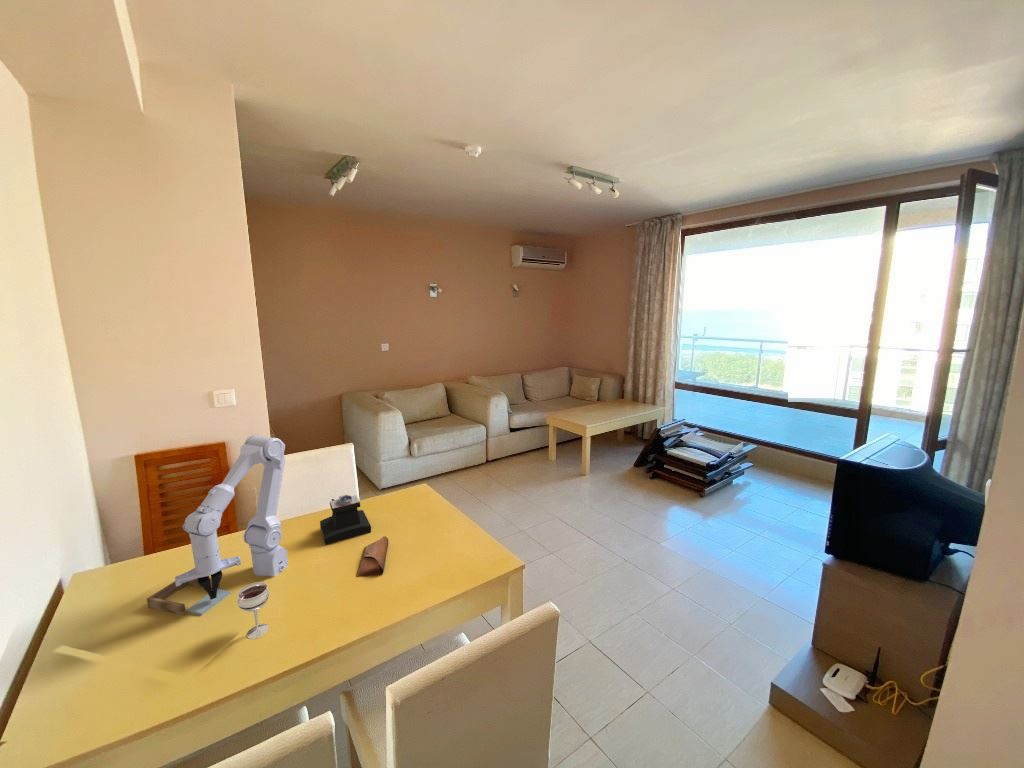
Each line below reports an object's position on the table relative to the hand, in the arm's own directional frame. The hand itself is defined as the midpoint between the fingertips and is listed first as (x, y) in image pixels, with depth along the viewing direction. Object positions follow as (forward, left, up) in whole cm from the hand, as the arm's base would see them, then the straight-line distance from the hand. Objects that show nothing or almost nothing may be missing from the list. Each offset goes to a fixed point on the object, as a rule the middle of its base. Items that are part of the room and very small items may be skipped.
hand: (213, 596), depth 114 cm
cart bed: (+10, 0, -3) cm, 10 cm away
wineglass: (-19, +5, -3) cm, 20 cm away
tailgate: (+4, 0, -2) cm, 5 cm away
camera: (-10, -44, -4) cm, 46 cm away
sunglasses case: (-31, -30, -4) cm, 44 cm away
